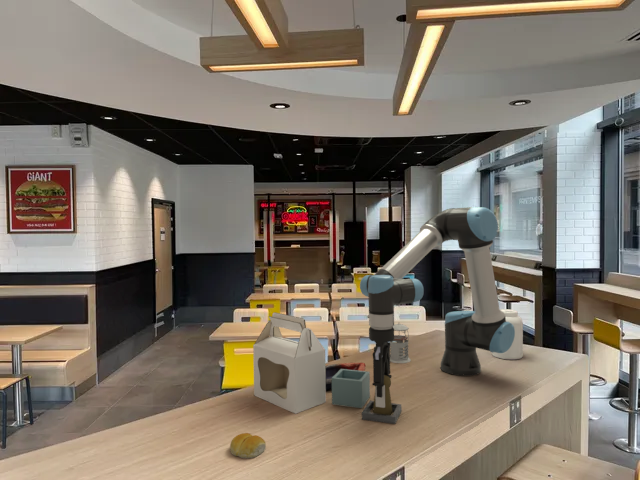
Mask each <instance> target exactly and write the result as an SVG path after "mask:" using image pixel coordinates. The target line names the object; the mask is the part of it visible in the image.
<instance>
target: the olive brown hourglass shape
mask: <svg viewBox="0 0 640 480" xmlns="http://www.w3.org/2000/svg"><path fill="white" fill-rule="evenodd" d="M391 384H392V380H391V378H389V377H388V376H386V375H384V385H385V408H381V407H376V397H375V395H374V397H373V401H374V404H373V408H372V413H378V414H386V415H393V414H394V411H392V404H391V403H392V399H391V390H390V387H391Z"/></svg>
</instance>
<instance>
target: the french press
mask: <svg viewBox="0 0 640 480" xmlns="http://www.w3.org/2000/svg"><path fill="white" fill-rule="evenodd" d="M400 305H401V304H399V305H398V306H400ZM393 328H394V332H395V331H396V332H402V333H404V335H402V334H394V340H393V341H391V342H390V363H394V364H395V363H396V364H407V363H410V362H412V361H411V358H410V357H409V341H410V335H409V331H408V330H409V329H410V328H409V327H408V326H407V325H405V324H401V323H394V326H393ZM406 332H407V336H406Z"/></svg>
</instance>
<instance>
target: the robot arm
mask: <svg viewBox="0 0 640 480" xmlns="http://www.w3.org/2000/svg"><path fill="white" fill-rule="evenodd" d="M498 231H499V223H498V220H497V217H496V215H495V214H494V212H493V211H492V210H491V209H489V208H488V207H481V206H480V207H478V206H471V207H469V206H468V207H457V208H454V207H453V208H452V207H451V208H447V209H445V210H442V211H440V212H438V213H436V214H434V216H432V217H431V218H429V219H428V220H427V221H426V222H425V223H423V224H422V225H421V227H420V228H419V232H418V233H417V234H416V235H415V236H414V237H413V238H411V240H409V242H408V243H406V244H405V245H404V246H403V247H402V248H401V249H400V250H399V251H398V252H397V253H396V254H395V255H394V256H392V258H391V259H390V260H388V261H387V262H386V263H385V264H384V265H383V266H381V268H380V269H379V270H378V271H376V273H375V274H369V275H368V274H367V275H364V276H363V277H362V278H361V280H360V283H359V289H360V290H359V291H360V292H361V293H362V295H363V296H365V297H367V298H368V314H367V315H366V318H367V319H368V326H369V328H368V339H369V340H370V341H371V342H374V343H375V346H374V347H373V353H372V360H373V361H372V364H373V367H372V369H373V370H372V371H373V374H372V375H373V376H372V377H373V382H372V384H371V385H372V386H374V396H375V397H376V407H381V408H385V385H384V375H386V376H388V377H389V378H390V379H392V374H391V362H390V354H391V353H390V351H391V350H390V348H391V347H390V342H391V341H393V340H394V335H395V331H394V328H393V326H394V325H395V306H400V305H404V304H405V305H406V304H414V303H417V302H419V301H420V300H422V298H423V296H424V291H425V289H424V285H423V283H422V282H421V280H419V279H417V278H404V277H406V275H407V274H409V272H410V271H412V270H413V269H414V268H415V267H416V265H417V264H418V263H420V261H422V260H423V259H424V258H425V256H427V255H428V254H429V253H430V252H431V251H432V250H433V248H435V247H440V246H441V245H443V243H444V242H448V241H457V244H458V249H460V250H461V251H463V253H464V258H465V262H466V263H465V264H466V269H467V275H468V280H469V285H470V291H471V296H472V297H471V298H472V303H473V309H474V310H458V311H457V310H455V311H450V312H447V313H446V314H445V319H444V344H445V345H444V353H443V354H442V358H441V361H440V370H441V371H442V372H444V373H447V374H449V375H455V376H464V377H465V376H466V377H467V376H475V375H479V374H480V373H481V371H482V366H481V362H480V359H479V355H478V353H477V349H480V350H483V351H487V352H490V353H492V352H496V353H504V352H506V351H507V350H508V349H509V348H510V347H511V345H512V343H513V341H514V336H515V329H514V326H513V324H512V323H510V322H506V318H505V314H504V312H502V311H501V310H500V309H501V308H500V304H499V299H498V293H497V285H496V280H495V279H496V278H495V274H494V268H493V261H492V255H491V249H490V248H491V247H492V245H493V244H494V239H495V238H496V237H497V235H498ZM399 304H400V305H399ZM393 342H394V341H393Z"/></svg>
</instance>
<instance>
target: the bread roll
mask: <svg viewBox="0 0 640 480" xmlns="http://www.w3.org/2000/svg"><path fill="white" fill-rule="evenodd" d="M266 447H267V446H266V441H265V439H264V438H263V437H261V436H259V435H255V434H251V433H248V432H245V433H244V432H242V433H240V434H237V435H236V436H234V438H232V440H231V442H230V446H229V448H230V453H231V454H232V455H233V456H235V457H239V458H241V459H253V458H256V457H257V456H260V455H261V454H263V453H264V452H265V450H266Z"/></svg>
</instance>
